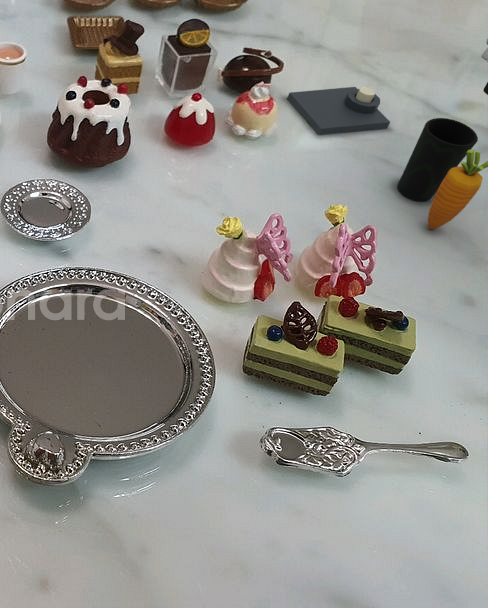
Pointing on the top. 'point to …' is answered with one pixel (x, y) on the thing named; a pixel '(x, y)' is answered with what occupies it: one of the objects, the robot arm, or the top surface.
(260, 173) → the top surface
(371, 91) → the button
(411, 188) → the cup
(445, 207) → the carrot
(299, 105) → the scale
